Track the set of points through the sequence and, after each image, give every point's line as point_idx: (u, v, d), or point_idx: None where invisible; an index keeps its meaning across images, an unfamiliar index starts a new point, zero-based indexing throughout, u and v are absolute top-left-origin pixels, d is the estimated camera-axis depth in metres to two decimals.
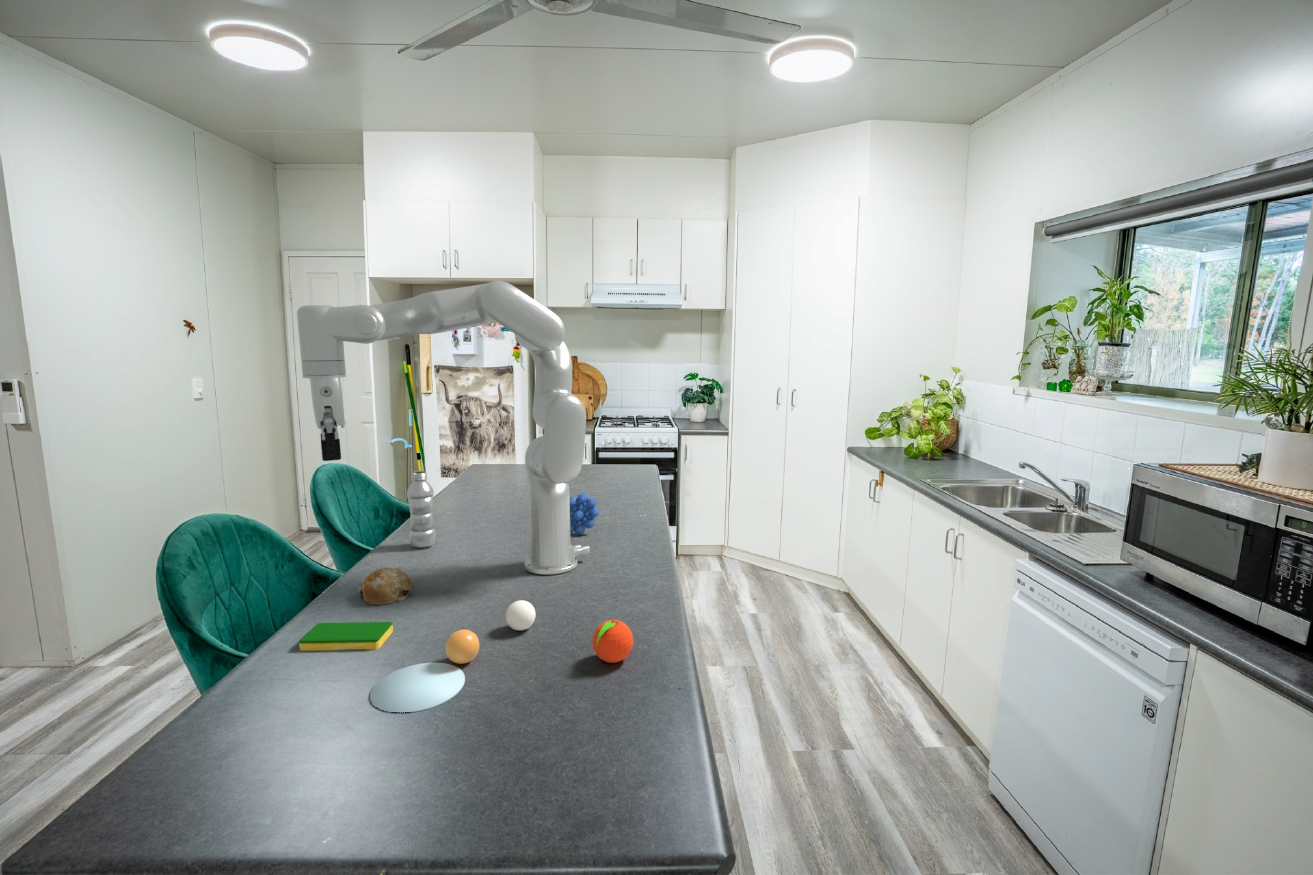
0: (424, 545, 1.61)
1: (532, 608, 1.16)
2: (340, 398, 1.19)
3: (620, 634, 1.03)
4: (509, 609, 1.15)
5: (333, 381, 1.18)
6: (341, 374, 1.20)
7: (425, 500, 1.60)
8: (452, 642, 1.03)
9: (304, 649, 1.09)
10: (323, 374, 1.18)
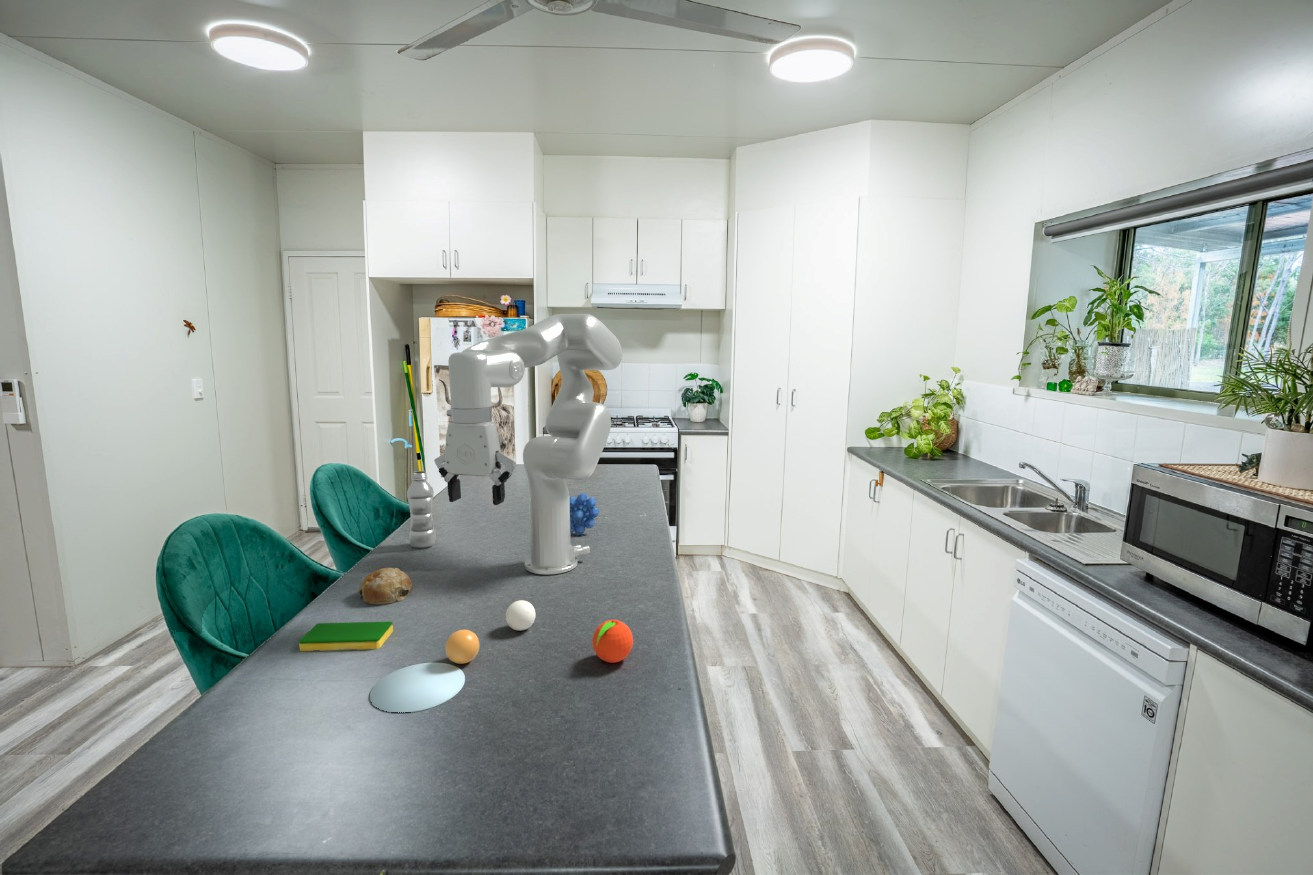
0: (424, 545, 1.61)
1: (532, 608, 1.16)
2: None
3: (620, 634, 1.03)
4: (509, 609, 1.15)
5: None
6: (453, 422, 1.18)
7: (425, 500, 1.60)
8: (452, 642, 1.03)
9: (304, 649, 1.09)
10: None
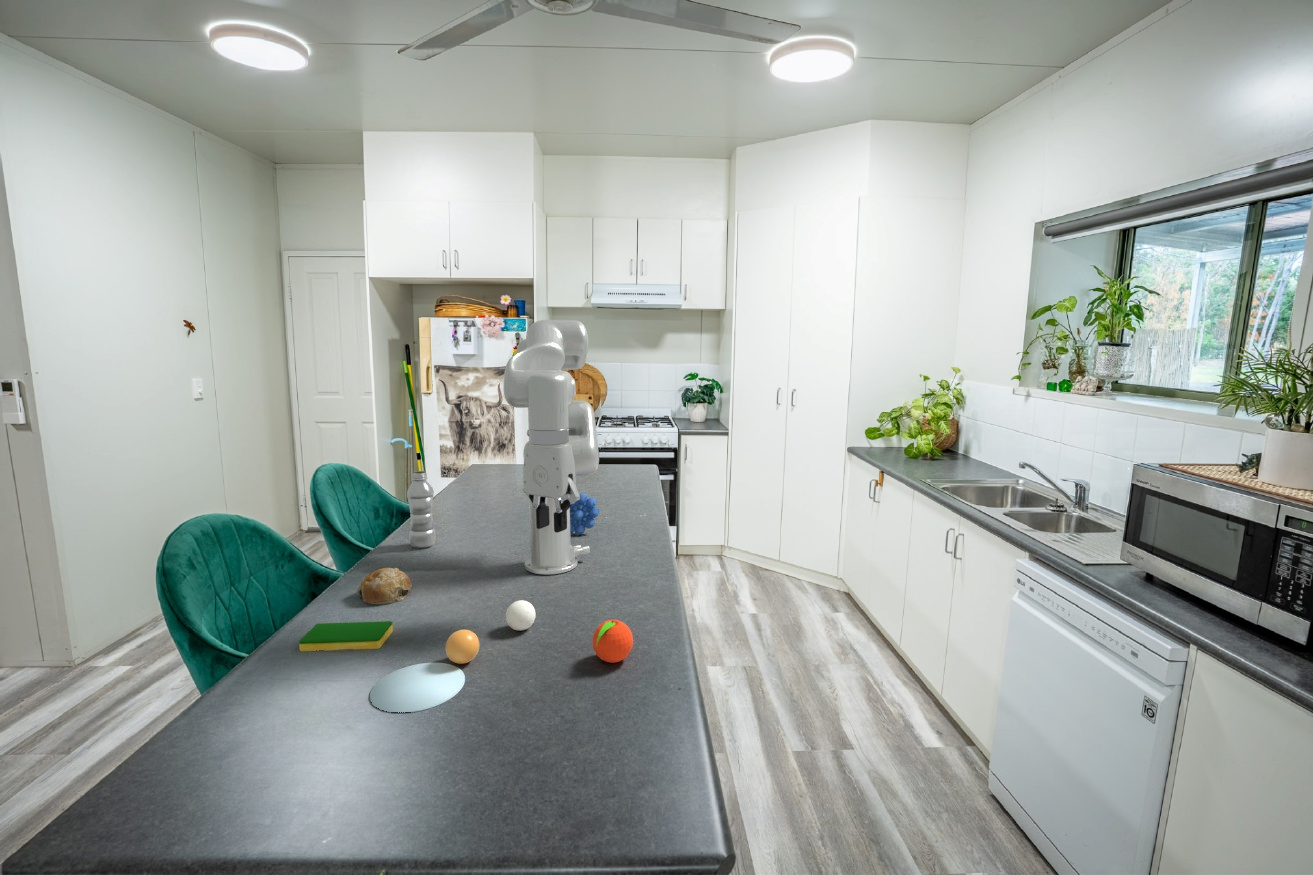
0: (424, 545, 1.61)
1: (532, 608, 1.16)
2: None
3: (620, 634, 1.03)
4: (509, 609, 1.15)
5: None
6: (529, 442, 1.18)
7: (425, 500, 1.60)
8: (452, 642, 1.03)
9: (304, 649, 1.09)
10: None
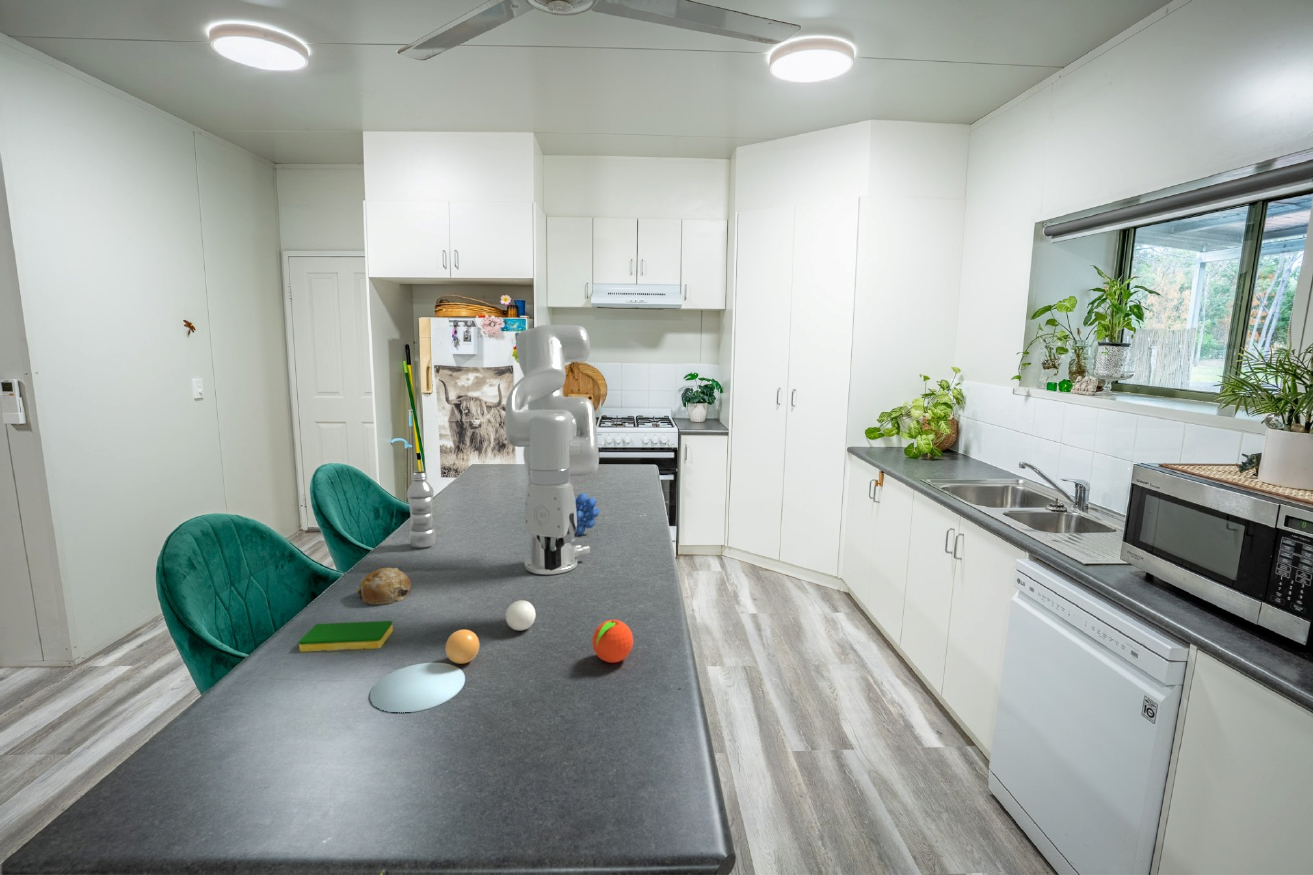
0: (424, 545, 1.61)
1: (532, 608, 1.16)
2: (525, 503, 1.22)
3: (620, 634, 1.03)
4: (509, 609, 1.15)
5: None
6: (531, 482, 1.19)
7: (425, 500, 1.60)
8: (452, 642, 1.03)
9: (304, 649, 1.09)
10: None
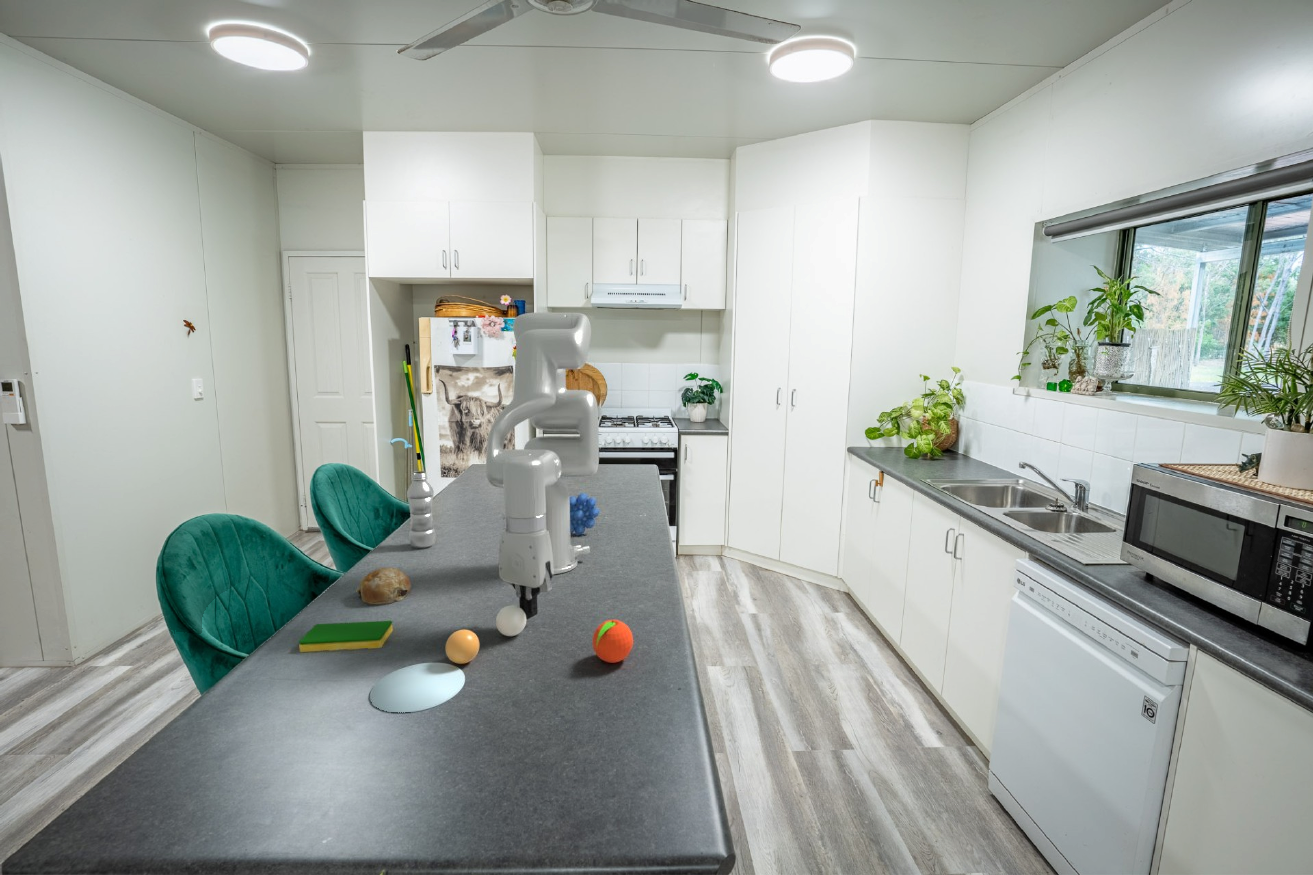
0: (424, 545, 1.61)
1: (519, 614, 1.13)
2: (499, 549, 1.16)
3: (620, 634, 1.03)
4: (497, 623, 1.13)
5: None
6: (505, 529, 1.14)
7: (425, 500, 1.60)
8: (452, 642, 1.03)
9: (304, 650, 1.09)
10: None
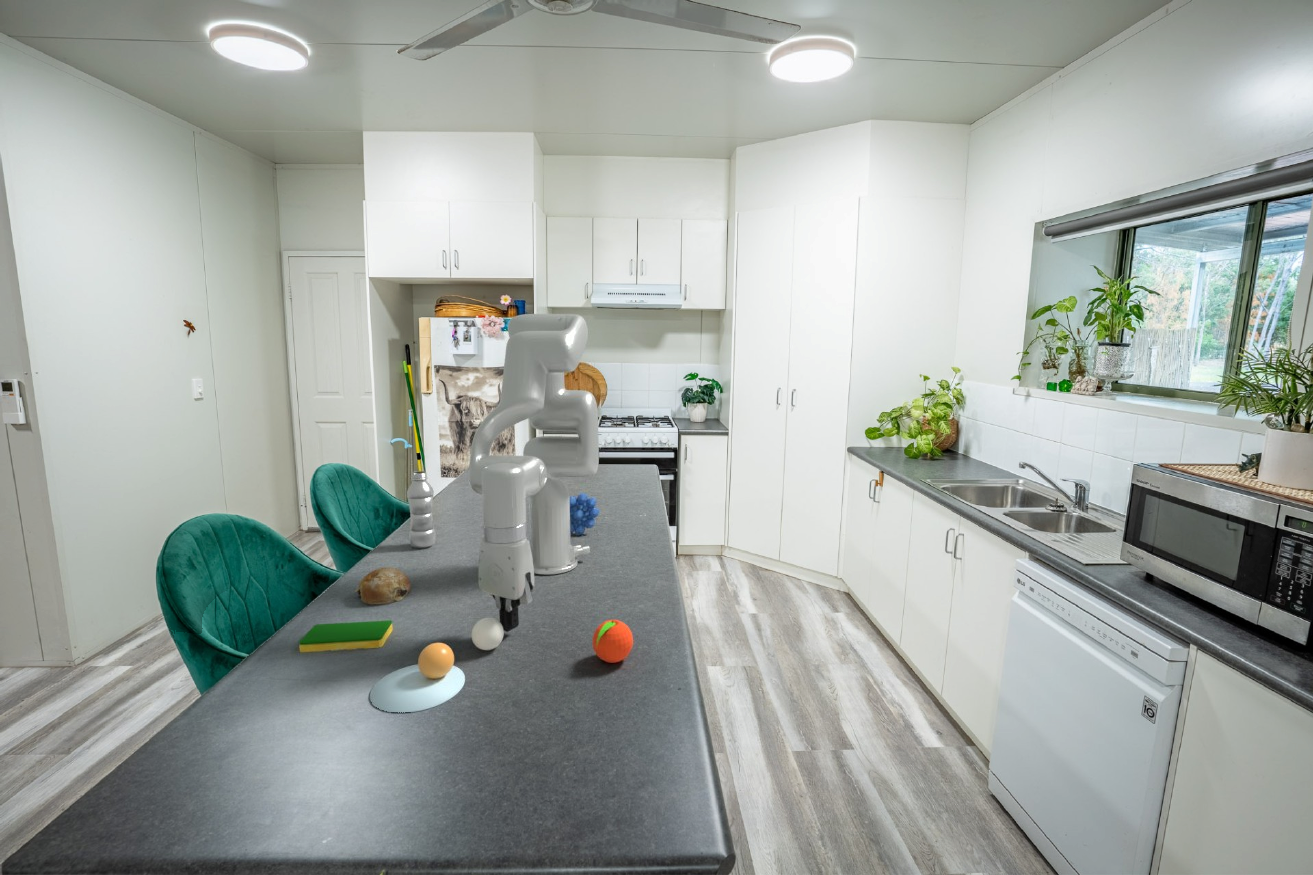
0: (424, 545, 1.61)
1: (490, 645, 1.07)
2: (479, 559, 1.13)
3: (620, 634, 1.03)
4: None
5: None
6: (484, 539, 1.10)
7: (425, 500, 1.60)
8: None
9: (304, 650, 1.09)
10: None
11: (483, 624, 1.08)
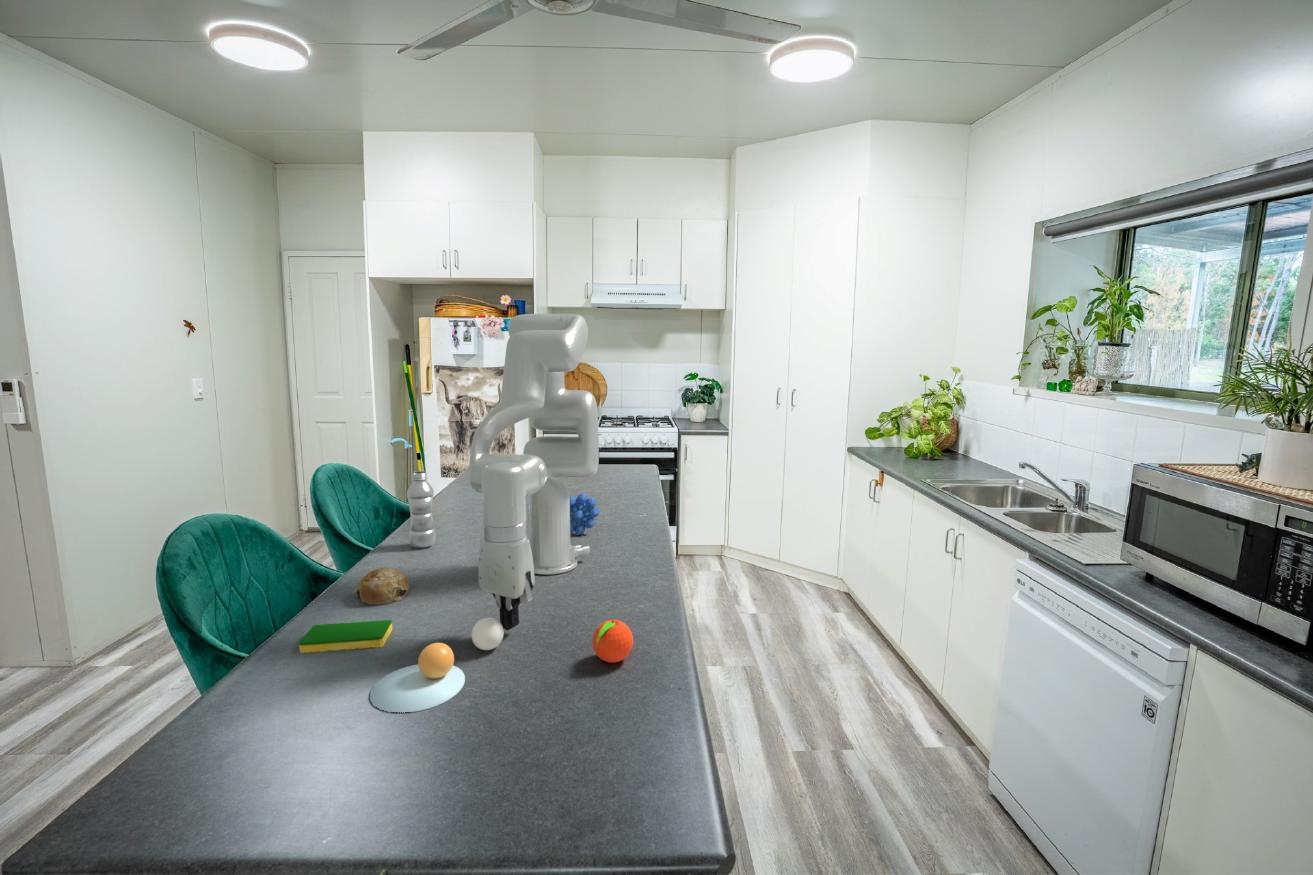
0: (424, 545, 1.61)
1: (490, 645, 1.07)
2: (479, 558, 1.13)
3: (620, 634, 1.03)
4: None
5: None
6: (484, 538, 1.10)
7: (425, 500, 1.60)
8: None
9: (304, 651, 1.08)
10: None
11: (483, 624, 1.08)
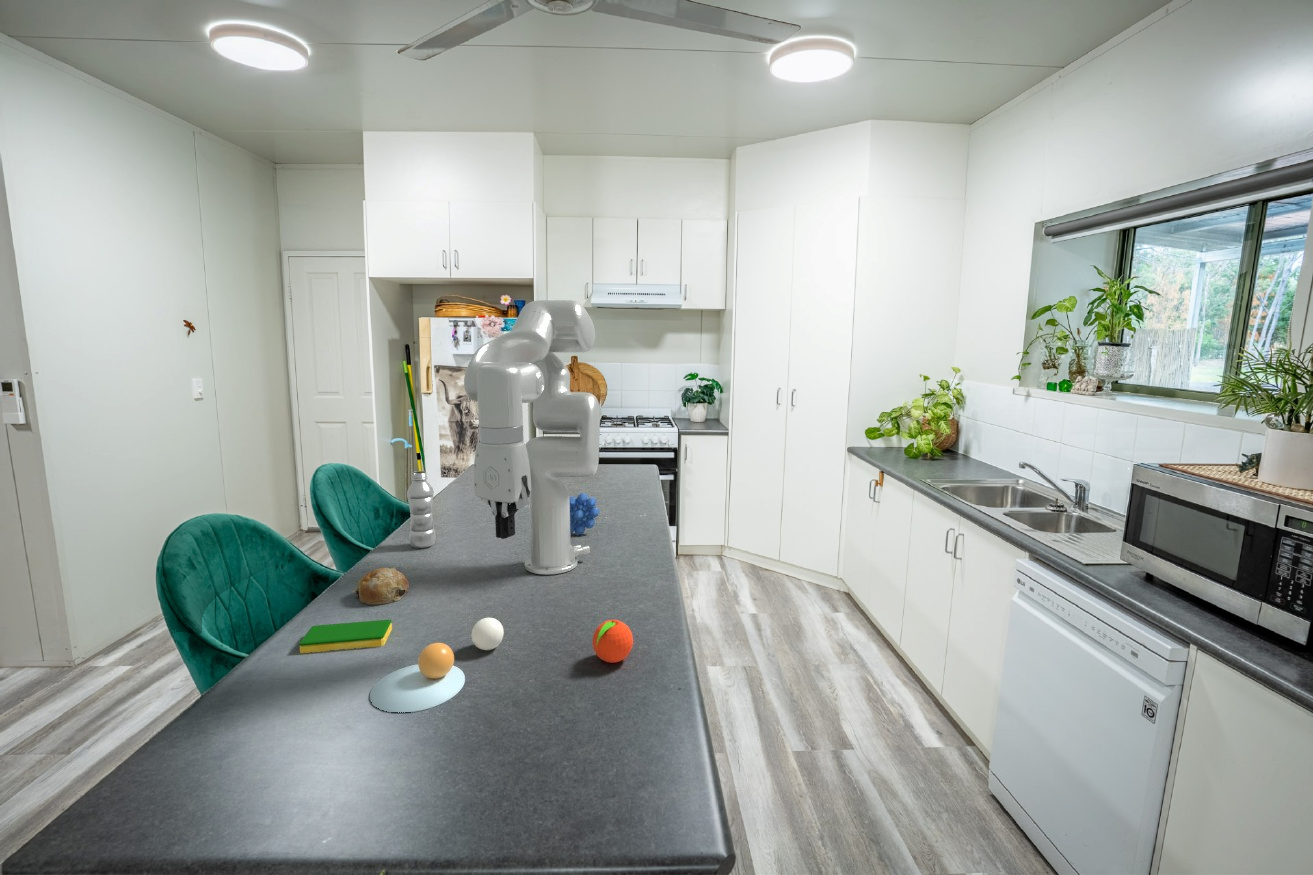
0: (424, 545, 1.61)
1: (490, 645, 1.07)
2: (474, 465, 1.10)
3: (620, 634, 1.03)
4: None
5: None
6: None
7: (425, 500, 1.60)
8: None
9: (305, 651, 1.08)
10: None
11: (483, 624, 1.08)
